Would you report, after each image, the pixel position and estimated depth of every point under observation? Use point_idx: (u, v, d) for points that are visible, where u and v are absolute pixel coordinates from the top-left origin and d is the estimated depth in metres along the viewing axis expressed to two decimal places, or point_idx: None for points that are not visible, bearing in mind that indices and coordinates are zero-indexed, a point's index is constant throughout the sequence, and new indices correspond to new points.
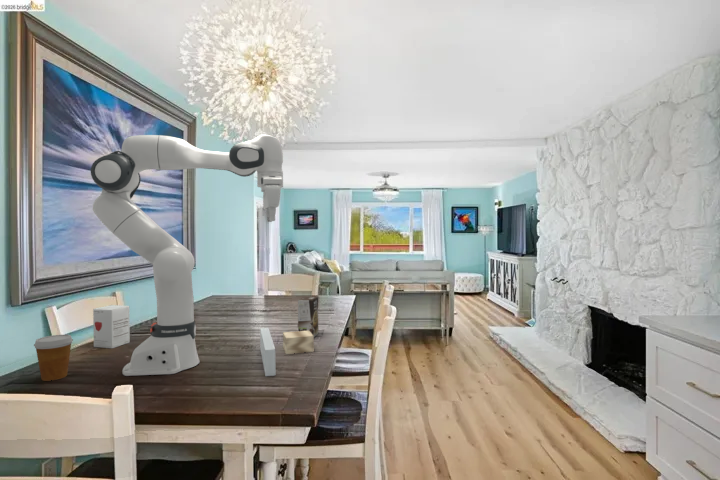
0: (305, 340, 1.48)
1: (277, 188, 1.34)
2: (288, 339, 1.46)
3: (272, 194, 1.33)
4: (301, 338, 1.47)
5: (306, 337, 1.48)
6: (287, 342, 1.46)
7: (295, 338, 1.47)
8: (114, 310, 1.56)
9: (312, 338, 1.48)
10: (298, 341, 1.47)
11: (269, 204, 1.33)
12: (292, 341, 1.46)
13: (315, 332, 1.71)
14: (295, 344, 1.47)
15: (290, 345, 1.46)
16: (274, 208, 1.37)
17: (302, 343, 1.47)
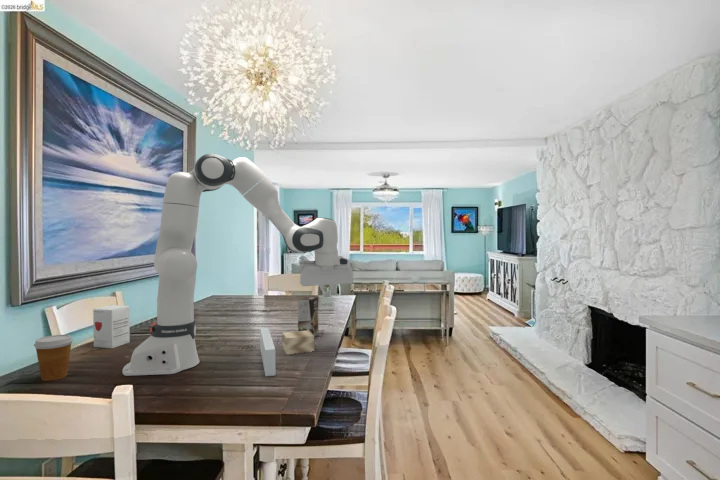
0: (306, 340, 1.48)
1: None
2: (289, 339, 1.46)
3: None
4: (302, 338, 1.47)
5: (307, 337, 1.48)
6: (288, 342, 1.46)
7: (296, 338, 1.47)
8: (114, 310, 1.56)
9: (312, 338, 1.49)
10: (299, 341, 1.47)
11: None
12: (293, 341, 1.46)
13: (315, 332, 1.71)
14: (296, 344, 1.47)
15: (291, 345, 1.46)
16: None
17: (303, 343, 1.47)
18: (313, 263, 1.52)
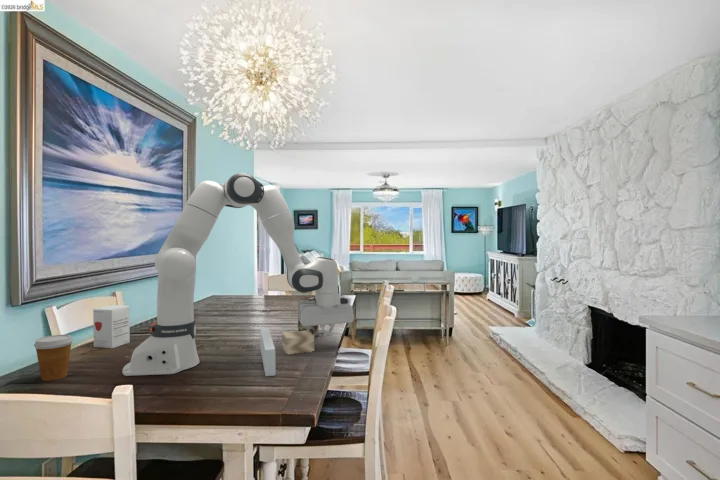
0: (306, 340, 1.48)
1: None
2: (289, 339, 1.46)
3: None
4: (302, 338, 1.47)
5: (307, 337, 1.48)
6: (288, 342, 1.46)
7: (296, 338, 1.47)
8: (114, 310, 1.56)
9: (313, 338, 1.49)
10: (299, 341, 1.47)
11: (352, 320, 1.56)
12: (293, 341, 1.46)
13: (315, 332, 1.71)
14: (296, 344, 1.47)
15: (291, 345, 1.46)
16: None
17: (303, 343, 1.47)
18: (314, 303, 1.53)
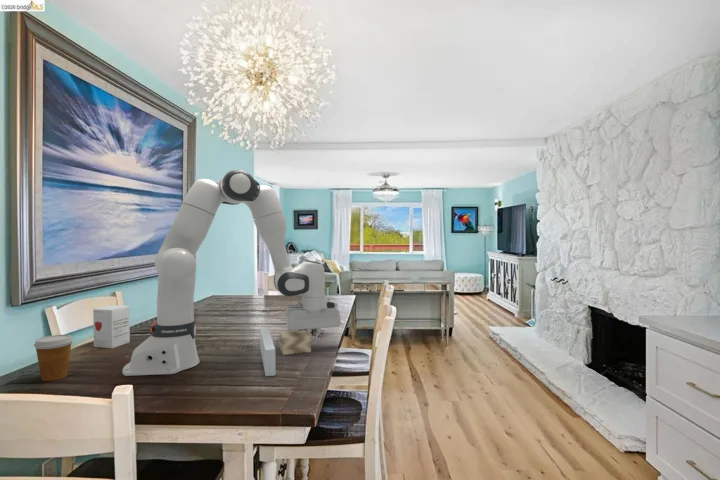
0: (302, 340, 1.47)
1: None
2: (285, 339, 1.45)
3: None
4: (299, 338, 1.47)
5: (303, 337, 1.48)
6: (284, 342, 1.45)
7: (292, 338, 1.46)
8: (114, 310, 1.56)
9: (309, 338, 1.48)
10: (295, 341, 1.47)
11: (339, 325, 1.54)
12: (289, 341, 1.46)
13: (315, 332, 1.71)
14: (292, 344, 1.46)
15: (287, 345, 1.46)
16: None
17: (299, 343, 1.47)
18: (300, 307, 1.51)
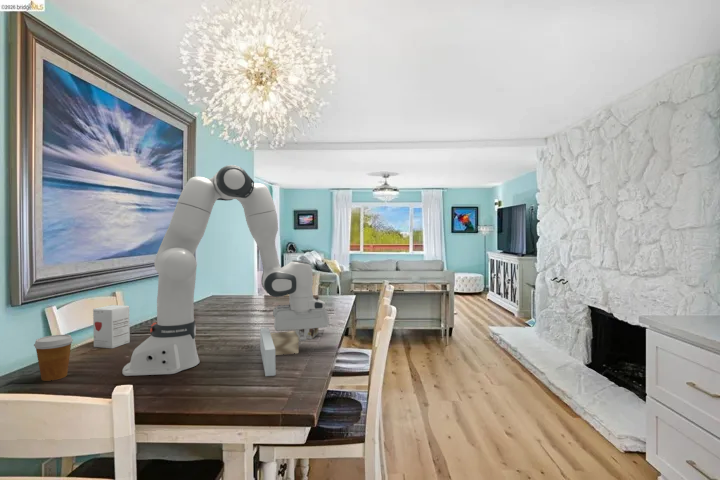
0: (290, 341, 1.46)
1: None
2: None
3: None
4: (286, 339, 1.46)
5: (291, 338, 1.46)
6: None
7: (279, 339, 1.45)
8: (114, 310, 1.56)
9: (297, 339, 1.47)
10: (282, 342, 1.45)
11: None
12: (276, 342, 1.45)
13: (315, 332, 1.71)
14: (279, 345, 1.45)
15: (274, 346, 1.45)
16: None
17: (287, 344, 1.46)
18: (287, 307, 1.50)
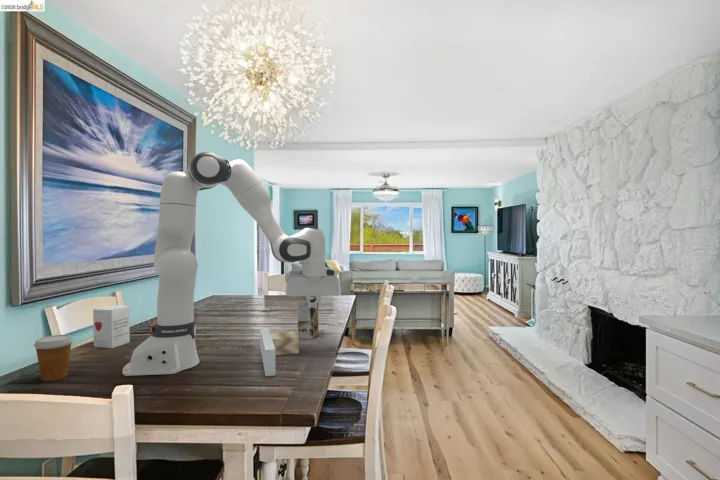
0: (290, 341, 1.46)
1: None
2: (273, 340, 1.44)
3: None
4: (286, 340, 1.46)
5: (291, 338, 1.46)
6: None
7: (280, 339, 1.45)
8: (114, 310, 1.56)
9: (297, 339, 1.47)
10: (283, 342, 1.45)
11: None
12: (277, 342, 1.45)
13: (315, 332, 1.71)
14: (280, 345, 1.45)
15: (275, 346, 1.45)
16: None
17: (287, 344, 1.46)
18: (300, 273, 1.51)
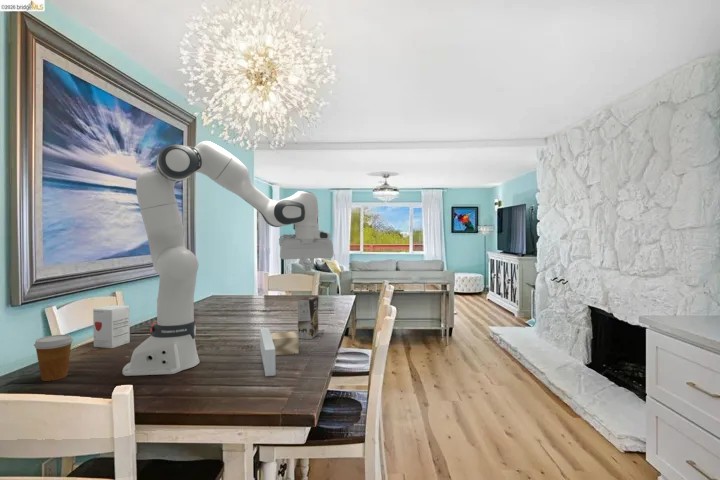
0: (290, 341, 1.46)
1: None
2: None
3: None
4: (286, 340, 1.46)
5: (291, 338, 1.46)
6: None
7: (279, 339, 1.45)
8: (114, 310, 1.56)
9: (297, 339, 1.47)
10: (283, 342, 1.45)
11: (332, 256, 1.56)
12: (276, 342, 1.45)
13: (315, 332, 1.71)
14: (279, 345, 1.45)
15: (274, 346, 1.45)
16: None
17: (287, 344, 1.46)
18: (293, 236, 1.52)
